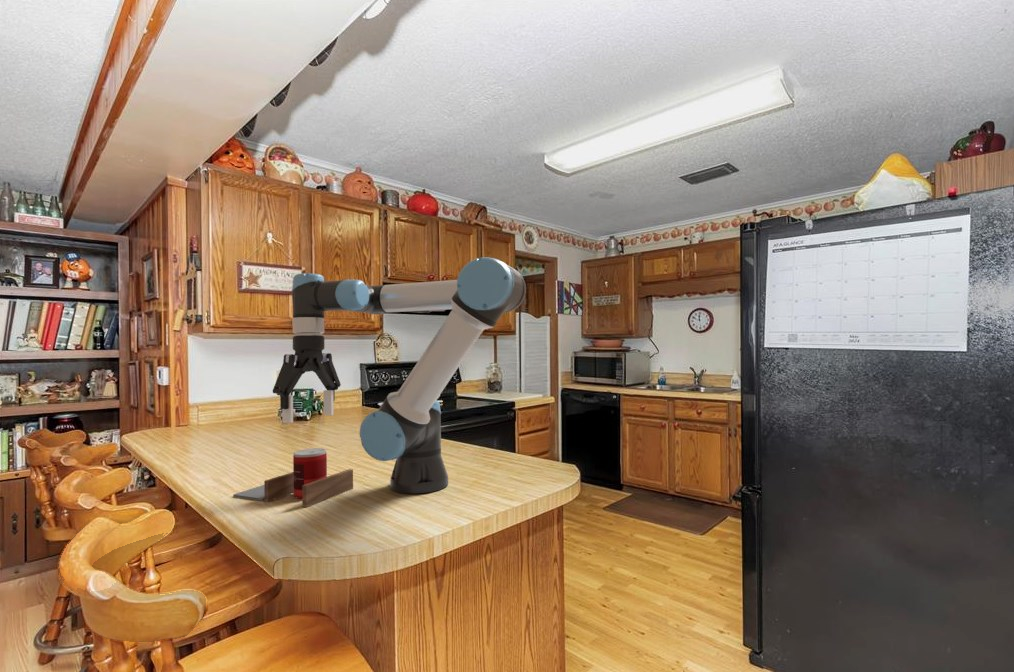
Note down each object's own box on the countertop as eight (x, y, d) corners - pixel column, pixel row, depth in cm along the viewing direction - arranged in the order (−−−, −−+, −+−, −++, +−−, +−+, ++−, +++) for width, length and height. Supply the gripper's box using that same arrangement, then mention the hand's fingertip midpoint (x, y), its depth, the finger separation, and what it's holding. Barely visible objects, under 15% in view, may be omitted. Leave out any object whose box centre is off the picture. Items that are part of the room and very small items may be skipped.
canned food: (332, 490, 128) (331, 448, 128) (317, 500, 120) (316, 454, 120) (304, 490, 128) (303, 448, 129) (287, 499, 120) (287, 454, 121)
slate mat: (294, 489, 129) (294, 487, 129) (262, 501, 120) (262, 498, 120) (266, 486, 133) (266, 484, 133) (233, 496, 123) (233, 494, 123)
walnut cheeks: (353, 488, 129) (352, 469, 129) (306, 507, 114) (306, 485, 114) (314, 483, 134) (313, 465, 134) (264, 501, 119) (264, 480, 119)
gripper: (332, 335, 138) (332, 411, 137) (255, 334, 115) (256, 425, 114) (353, 335, 135) (354, 412, 134) (279, 333, 112) (280, 426, 112)
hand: (309, 418), depth 124 cm, fingers open, 13 cm apart
